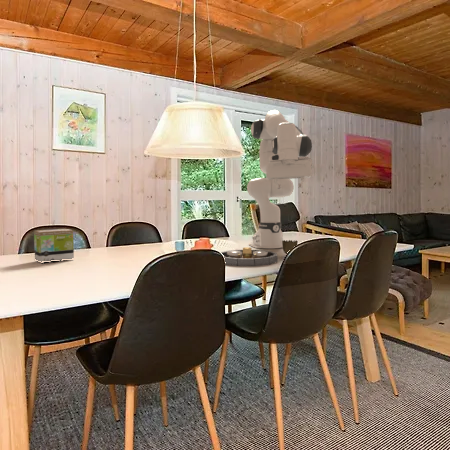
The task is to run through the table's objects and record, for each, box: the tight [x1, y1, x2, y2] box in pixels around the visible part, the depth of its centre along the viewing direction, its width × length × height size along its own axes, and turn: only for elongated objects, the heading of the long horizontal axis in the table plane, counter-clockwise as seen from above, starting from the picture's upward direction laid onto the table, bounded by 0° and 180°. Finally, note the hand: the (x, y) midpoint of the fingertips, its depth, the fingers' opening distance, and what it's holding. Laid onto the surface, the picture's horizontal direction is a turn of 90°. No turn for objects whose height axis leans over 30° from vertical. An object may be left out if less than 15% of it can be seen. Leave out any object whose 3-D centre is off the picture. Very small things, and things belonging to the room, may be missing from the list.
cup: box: [282, 239, 299, 254], centre depth 188 cm, size 8×7×8 cm
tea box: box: [33, 228, 75, 262], centre depth 186 cm, size 15×10×15 cm
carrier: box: [221, 246, 278, 267], centre depth 181 cm, size 27×27×6 cm
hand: (289, 188), depth 175 cm, fingers open, 8 cm apart
